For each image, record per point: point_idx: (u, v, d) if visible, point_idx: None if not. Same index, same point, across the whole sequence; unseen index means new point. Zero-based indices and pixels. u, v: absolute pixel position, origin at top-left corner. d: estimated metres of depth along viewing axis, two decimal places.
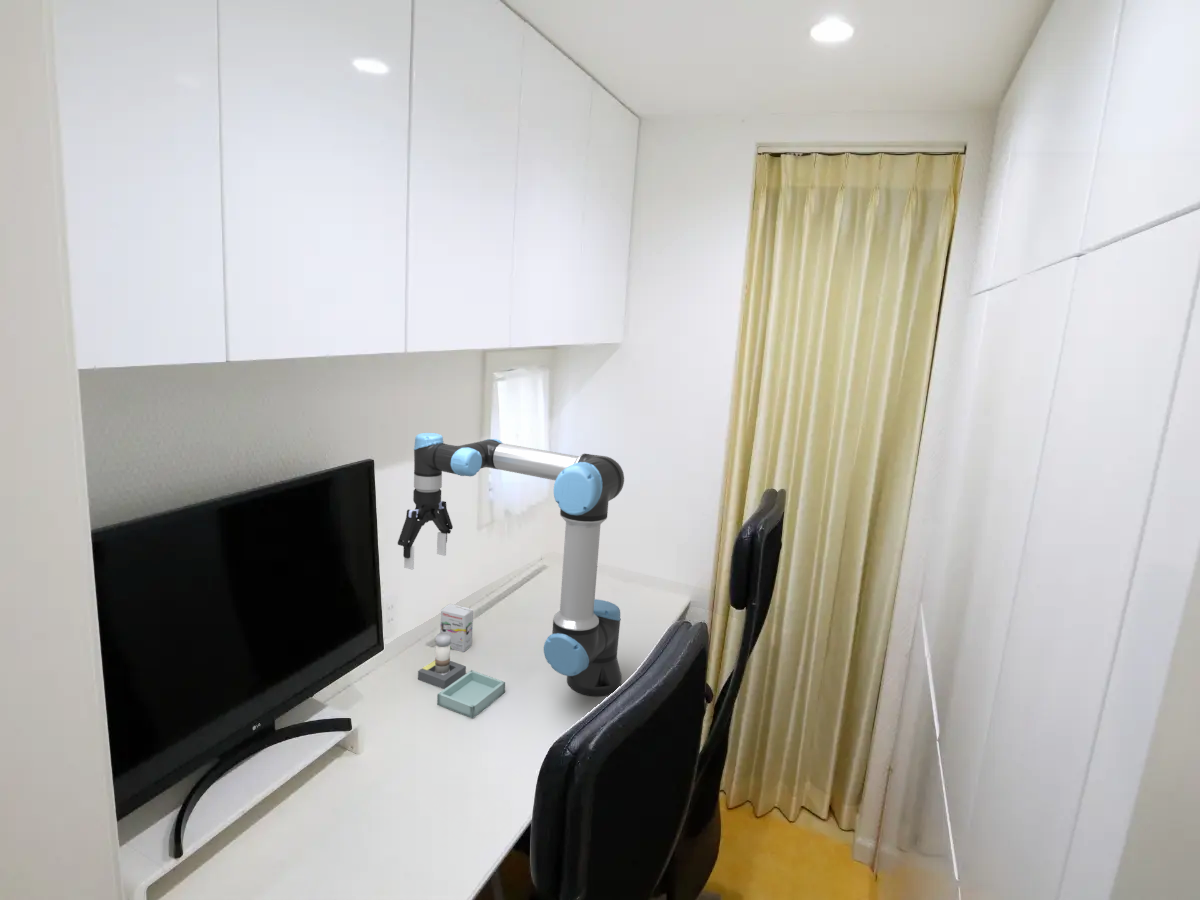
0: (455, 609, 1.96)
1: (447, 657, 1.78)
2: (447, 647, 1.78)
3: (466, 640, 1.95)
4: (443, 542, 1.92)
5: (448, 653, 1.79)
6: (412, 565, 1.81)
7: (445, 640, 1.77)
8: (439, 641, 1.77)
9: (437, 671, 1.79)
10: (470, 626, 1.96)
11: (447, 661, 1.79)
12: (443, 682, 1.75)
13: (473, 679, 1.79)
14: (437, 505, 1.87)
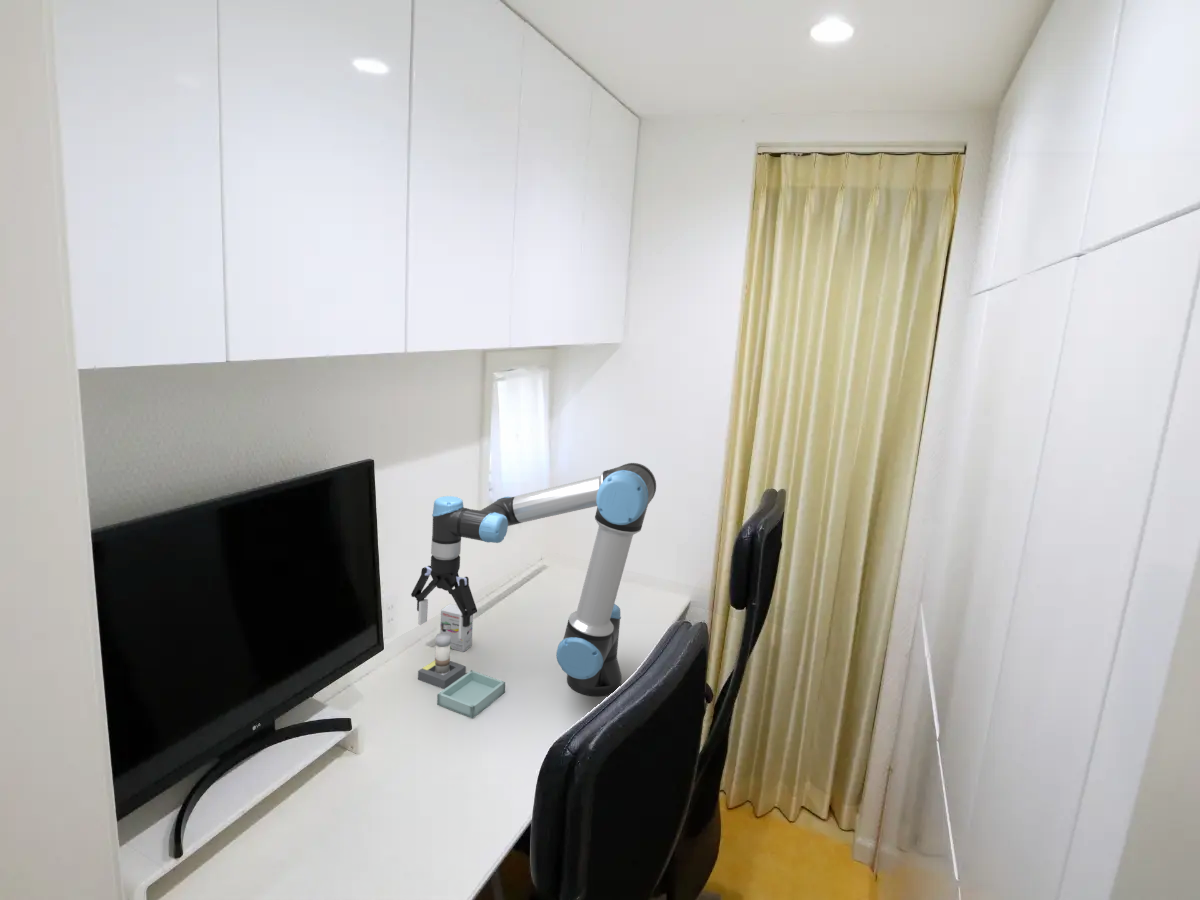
0: (455, 609, 1.96)
1: (447, 657, 1.78)
2: (447, 647, 1.78)
3: (466, 640, 1.95)
4: None
5: (448, 653, 1.79)
6: (418, 620, 1.80)
7: (445, 640, 1.77)
8: (439, 641, 1.77)
9: (437, 671, 1.79)
10: (470, 626, 1.96)
11: (447, 661, 1.79)
12: (443, 682, 1.75)
13: (473, 679, 1.79)
14: (451, 578, 1.73)
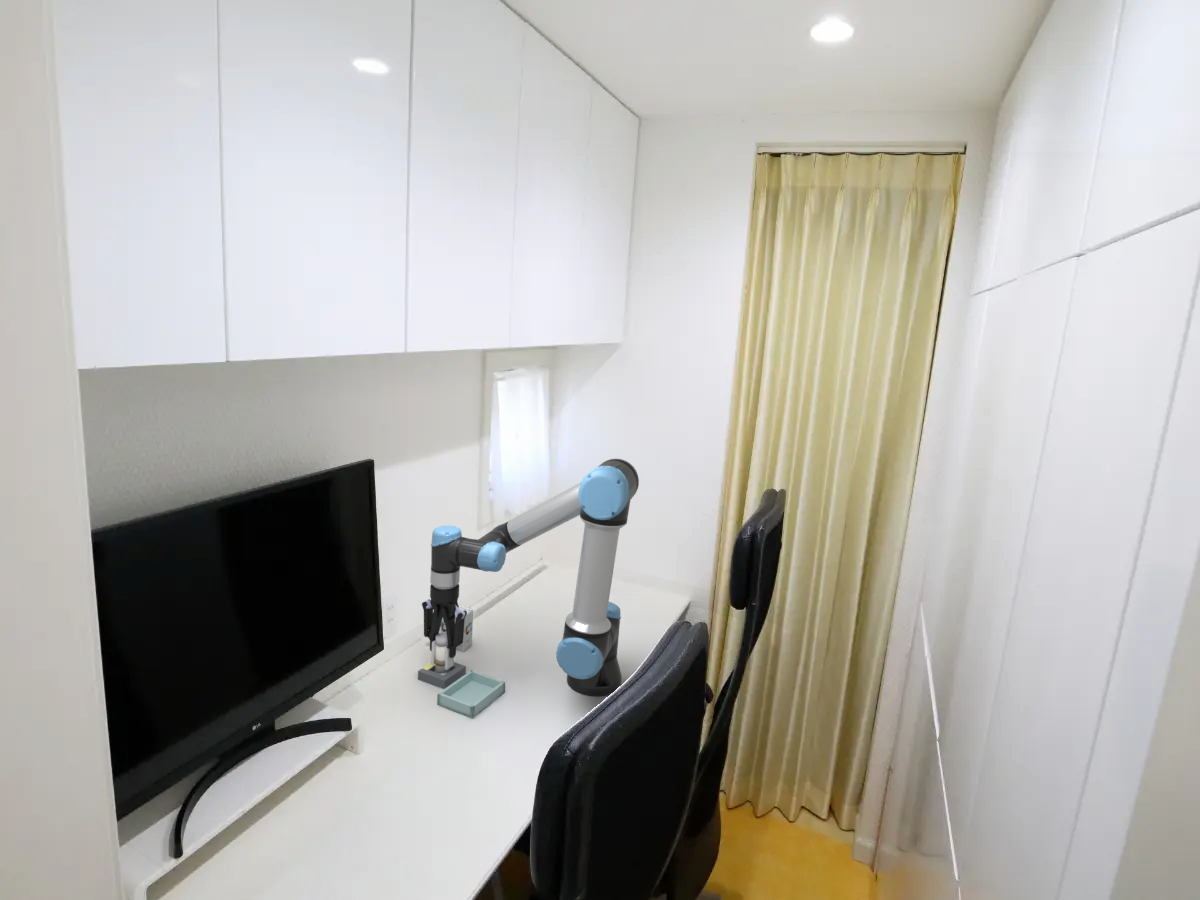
0: None
1: None
2: None
3: (466, 640, 1.95)
4: None
5: None
6: (431, 660, 1.80)
7: (445, 640, 1.77)
8: (439, 641, 1.77)
9: (437, 671, 1.79)
10: (470, 626, 1.96)
11: None
12: (443, 682, 1.75)
13: (473, 679, 1.79)
14: (451, 607, 1.74)
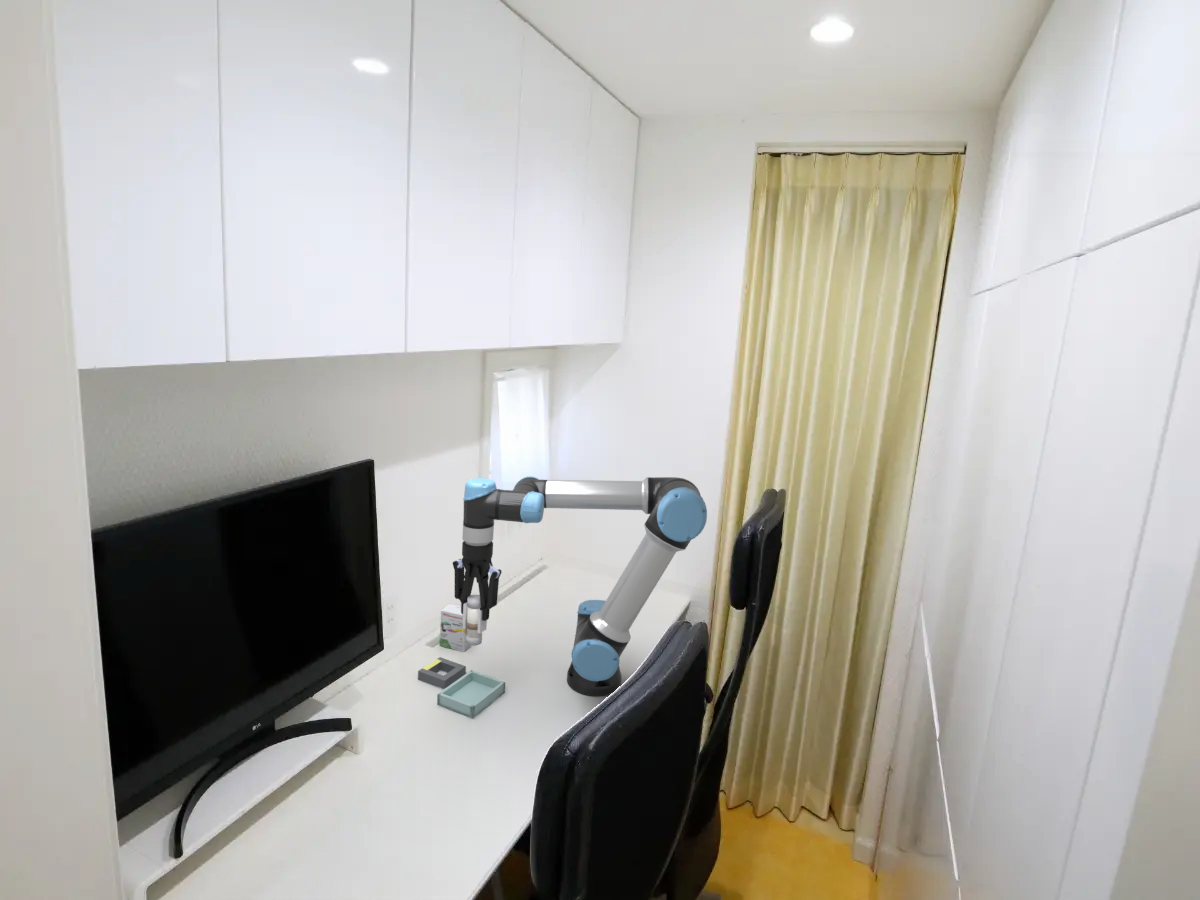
0: (455, 609, 1.96)
1: None
2: None
3: None
4: None
5: None
6: None
7: (478, 601, 1.65)
8: (471, 602, 1.65)
9: (469, 635, 1.67)
10: None
11: None
12: (443, 682, 1.75)
13: (473, 679, 1.79)
14: (485, 565, 1.62)
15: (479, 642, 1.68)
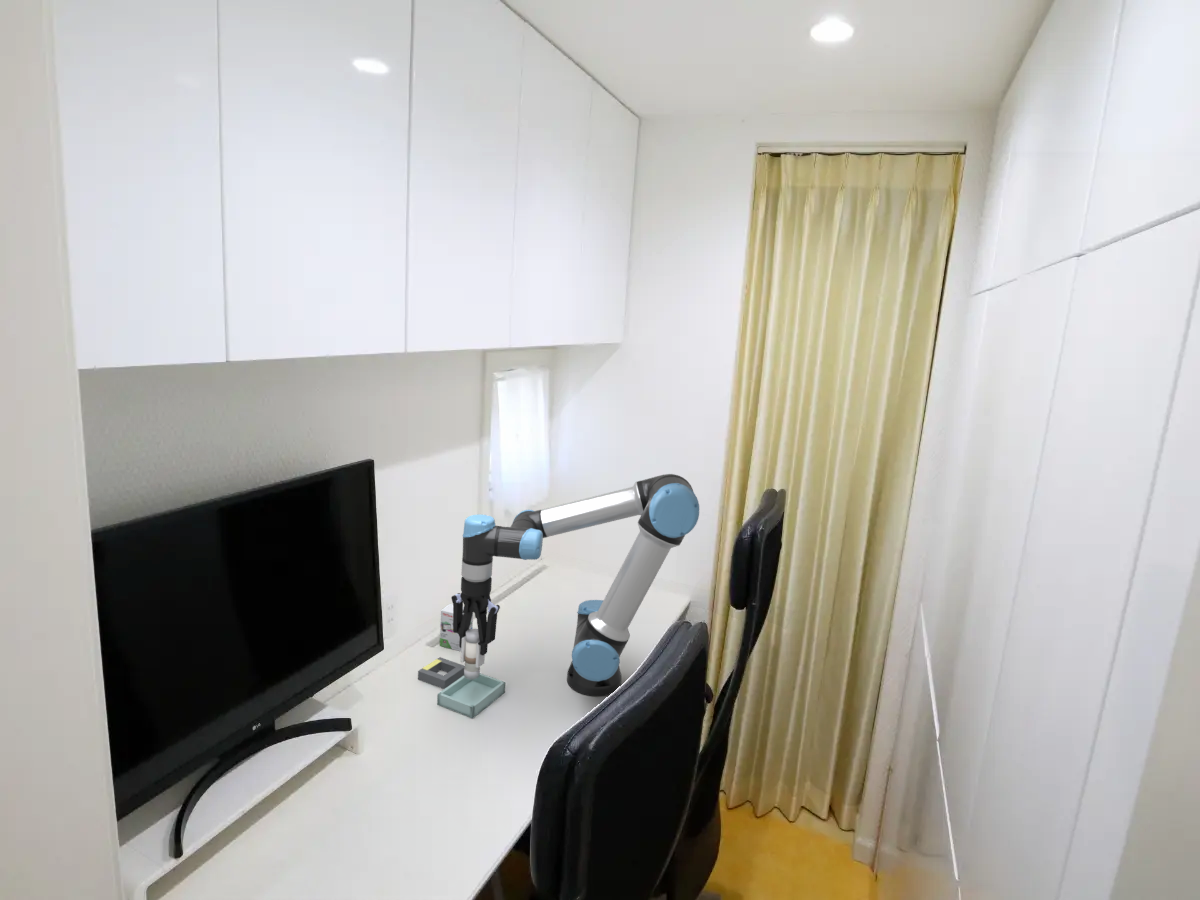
0: None
1: None
2: None
3: None
4: None
5: None
6: (461, 657, 1.69)
7: (476, 636, 1.67)
8: (469, 637, 1.66)
9: (467, 669, 1.68)
10: (470, 626, 1.96)
11: None
12: (443, 682, 1.75)
13: (473, 679, 1.79)
14: (483, 601, 1.64)
15: (477, 676, 1.69)
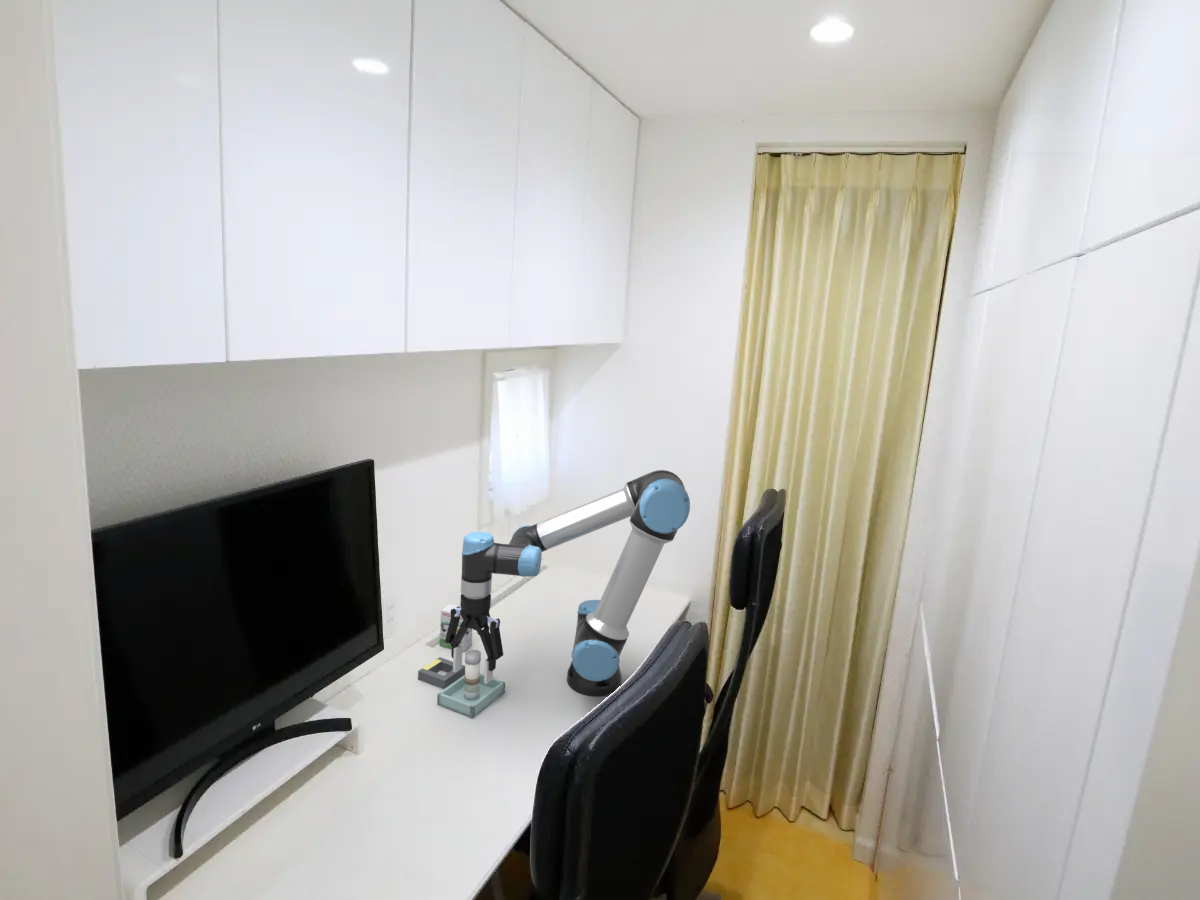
0: None
1: (477, 675, 1.69)
2: (477, 665, 1.69)
3: (466, 640, 1.95)
4: None
5: (478, 671, 1.69)
6: (453, 667, 1.71)
7: (475, 657, 1.68)
8: (469, 658, 1.67)
9: (467, 690, 1.69)
10: None
11: (477, 680, 1.69)
12: (443, 682, 1.75)
13: None
14: (483, 617, 1.65)
15: (477, 697, 1.70)
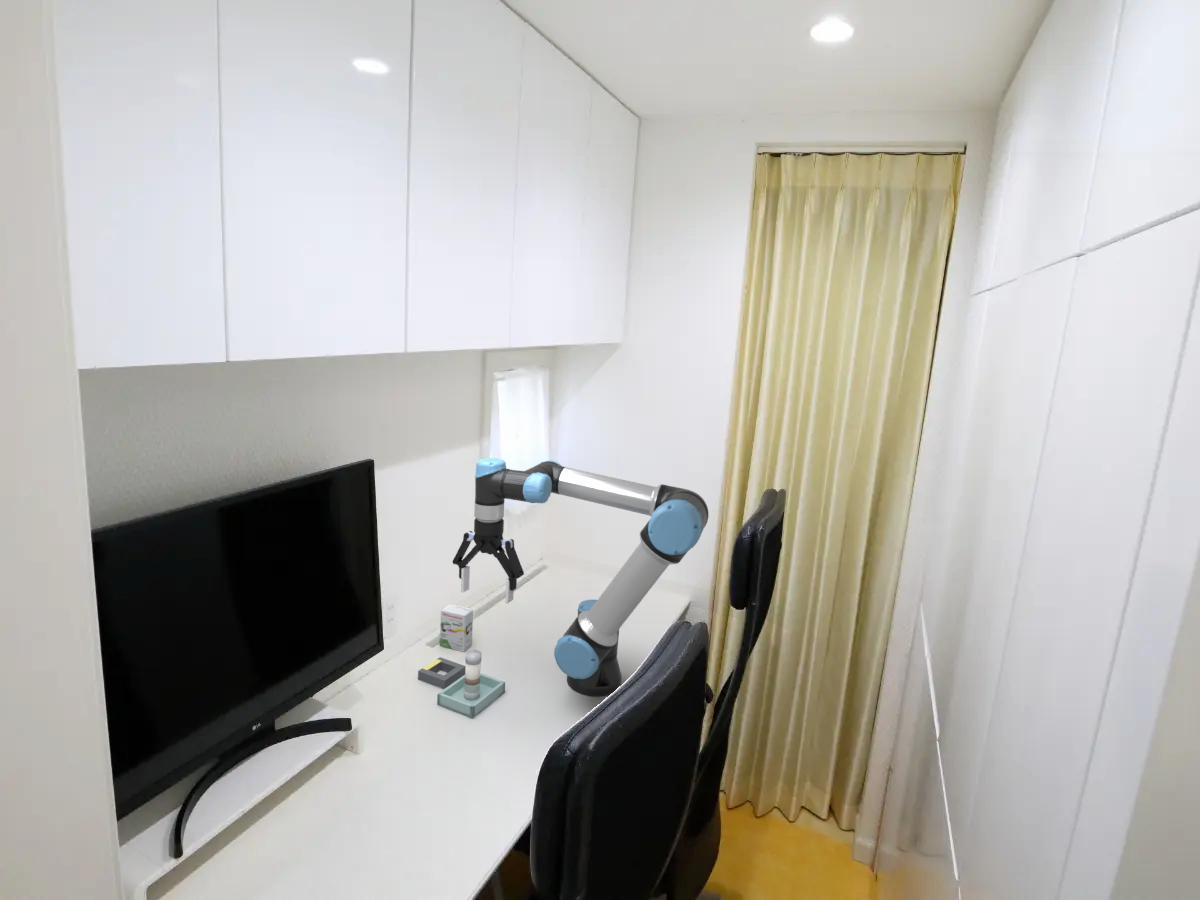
0: (455, 609, 1.96)
1: (477, 676, 1.69)
2: (478, 665, 1.69)
3: (466, 640, 1.95)
4: None
5: (478, 671, 1.69)
6: (461, 587, 1.75)
7: (476, 658, 1.68)
8: (469, 658, 1.67)
9: (467, 690, 1.69)
10: (470, 626, 1.96)
11: (477, 680, 1.69)
12: (443, 682, 1.75)
13: None
14: (496, 541, 1.69)
15: (477, 697, 1.70)
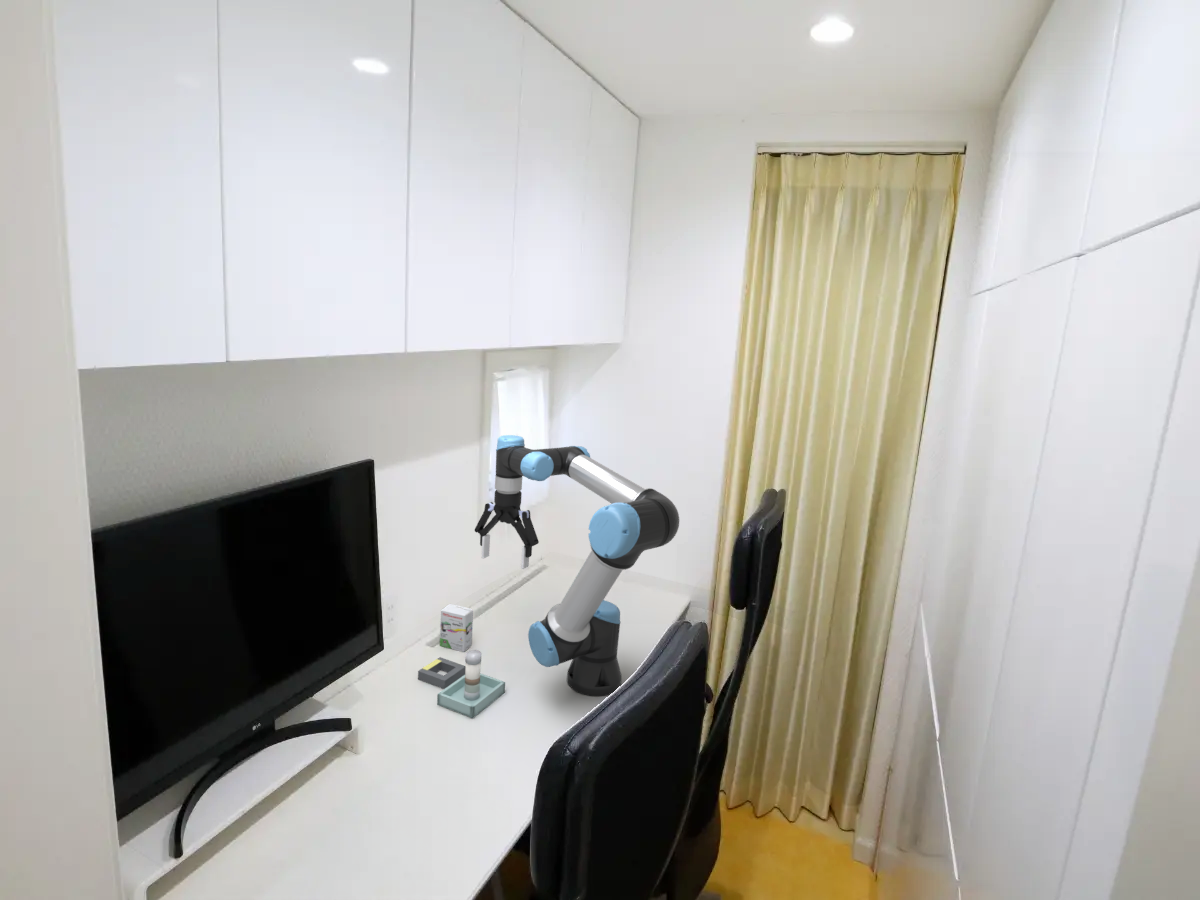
0: (455, 609, 1.96)
1: (477, 676, 1.69)
2: (478, 665, 1.69)
3: (466, 640, 1.95)
4: None
5: (479, 671, 1.69)
6: None
7: (476, 658, 1.68)
8: (469, 658, 1.67)
9: (467, 690, 1.69)
10: (470, 626, 1.96)
11: (477, 680, 1.69)
12: (443, 682, 1.75)
13: None
14: (514, 511, 1.84)
15: (477, 697, 1.70)
